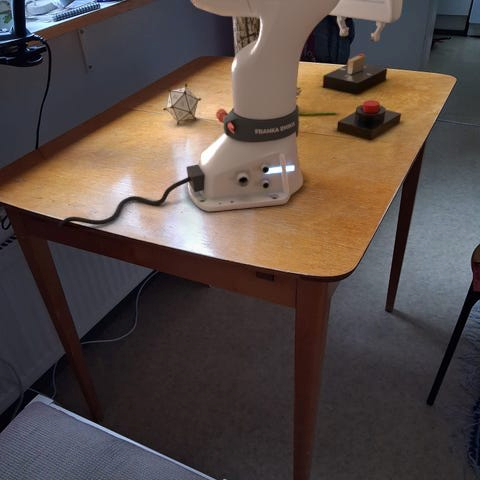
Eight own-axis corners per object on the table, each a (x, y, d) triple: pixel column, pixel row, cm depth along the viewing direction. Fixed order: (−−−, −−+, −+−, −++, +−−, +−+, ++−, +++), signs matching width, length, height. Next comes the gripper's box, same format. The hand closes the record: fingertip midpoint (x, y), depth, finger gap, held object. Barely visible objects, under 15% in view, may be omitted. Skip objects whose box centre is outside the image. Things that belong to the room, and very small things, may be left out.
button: (372, 115, 106) (373, 107, 105) (359, 111, 108) (359, 103, 107) (381, 110, 108) (382, 102, 107) (368, 106, 110) (369, 98, 109)
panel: (356, 95, 126) (358, 82, 123) (322, 87, 131) (323, 74, 129) (385, 80, 132) (387, 67, 130) (352, 73, 138) (353, 61, 136)
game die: (179, 137, 122) (149, 106, 116) (194, 113, 125) (165, 82, 119) (199, 126, 115) (168, 93, 110) (214, 101, 118) (185, 68, 112)
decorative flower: (337, 80, 113) (273, 82, 115) (336, 106, 113) (273, 108, 115) (334, 97, 121) (274, 99, 123) (333, 121, 121) (274, 123, 122)
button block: (370, 140, 105) (373, 122, 102) (336, 130, 110) (338, 113, 107) (399, 123, 111) (402, 105, 108) (366, 114, 116) (368, 97, 113)
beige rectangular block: (352, 75, 128) (353, 59, 126) (347, 73, 129) (348, 58, 126) (363, 69, 131) (365, 54, 128) (358, 68, 132) (360, 53, 129)
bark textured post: (265, 131, 112) (262, 5, 95) (236, 130, 113) (228, 6, 96) (269, 120, 117) (267, -2, 100) (242, 119, 118) (235, -1, 101)
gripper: (322, -28, 119) (319, 35, 128) (395, -22, 108) (386, 46, 118) (337, -32, 122) (333, 30, 132) (410, -27, 111) (400, 40, 121)
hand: (359, 38), depth 124 cm, fingers open, 8 cm apart
